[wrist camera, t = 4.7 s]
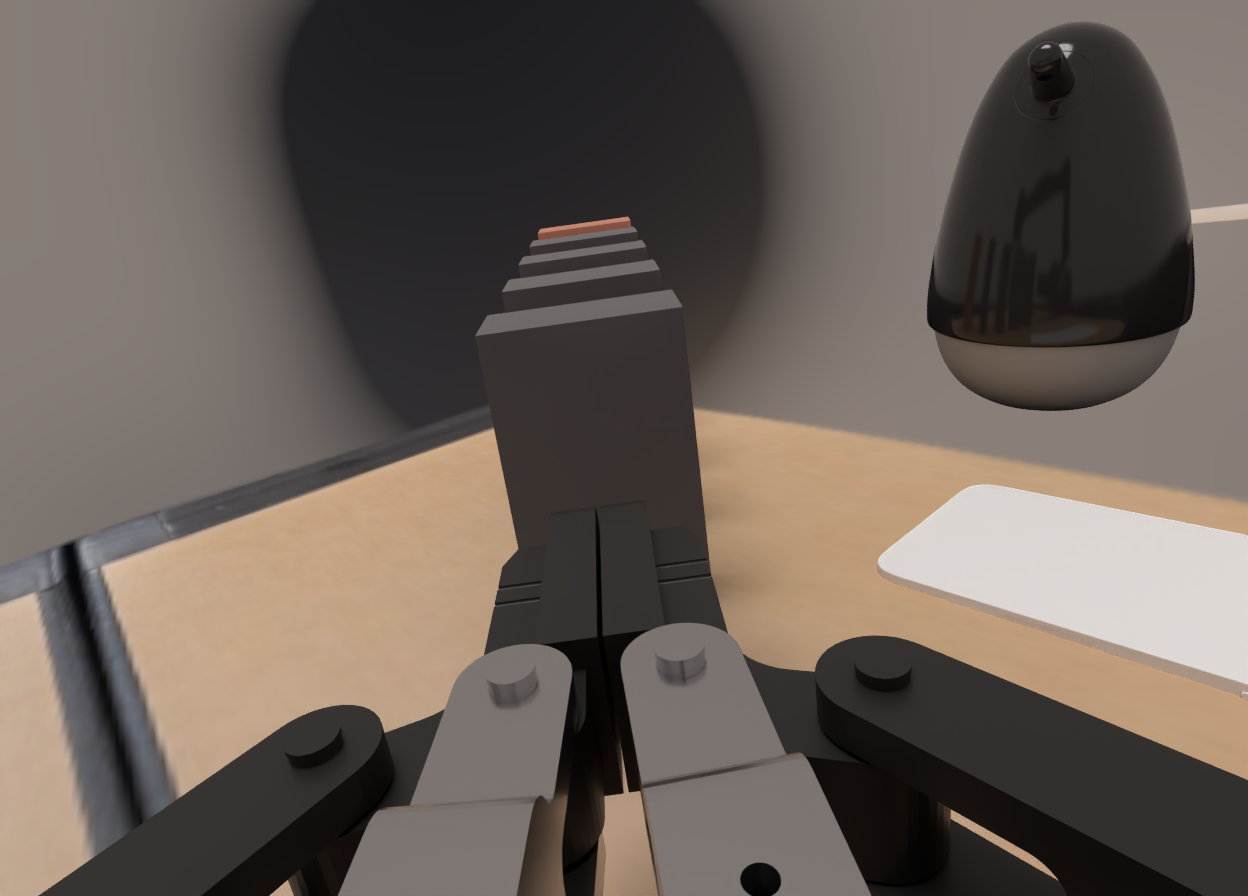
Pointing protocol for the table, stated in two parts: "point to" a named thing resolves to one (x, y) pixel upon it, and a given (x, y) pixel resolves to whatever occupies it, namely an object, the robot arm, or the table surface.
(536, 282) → the domino
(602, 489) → the domino
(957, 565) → the smartphone
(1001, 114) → the black egg shape
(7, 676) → the table surface
